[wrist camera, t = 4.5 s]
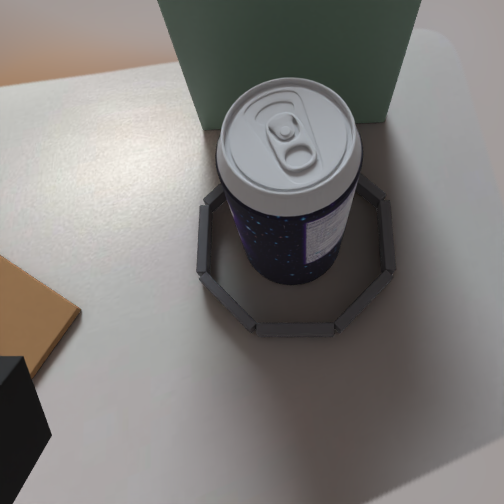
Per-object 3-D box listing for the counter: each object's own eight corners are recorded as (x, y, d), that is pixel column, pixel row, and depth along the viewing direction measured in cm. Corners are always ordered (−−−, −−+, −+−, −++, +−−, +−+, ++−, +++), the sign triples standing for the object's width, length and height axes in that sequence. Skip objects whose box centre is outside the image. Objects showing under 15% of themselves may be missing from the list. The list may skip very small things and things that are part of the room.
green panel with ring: (403, 337, 25) (558, 243, 10) (191, 337, 27) (49, 252, 11) (382, 103, 30) (467, -198, 15) (203, 111, 31) (114, -160, 16)
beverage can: (314, 186, 29) (325, 46, 17) (355, 265, 27) (397, 166, 16) (231, 221, 29) (187, 103, 17) (267, 303, 27) (244, 231, 15)
